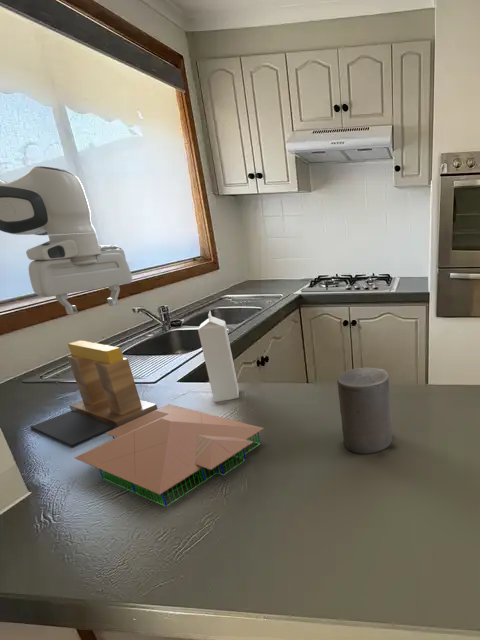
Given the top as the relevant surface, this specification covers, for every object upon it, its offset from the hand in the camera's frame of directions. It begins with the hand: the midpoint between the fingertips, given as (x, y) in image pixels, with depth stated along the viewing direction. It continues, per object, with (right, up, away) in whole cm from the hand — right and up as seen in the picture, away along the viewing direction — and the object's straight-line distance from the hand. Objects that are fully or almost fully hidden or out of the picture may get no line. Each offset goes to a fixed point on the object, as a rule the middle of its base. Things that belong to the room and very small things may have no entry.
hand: (94, 309), depth 98 cm
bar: (-1, -11, +3) cm, 12 cm away
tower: (0, -24, +8) cm, 25 cm away
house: (+26, -31, -15) cm, 43 cm away
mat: (-5, -28, -1) cm, 28 cm away
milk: (+27, -21, +11) cm, 36 cm away
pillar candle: (+64, -28, -15) cm, 72 cm away
